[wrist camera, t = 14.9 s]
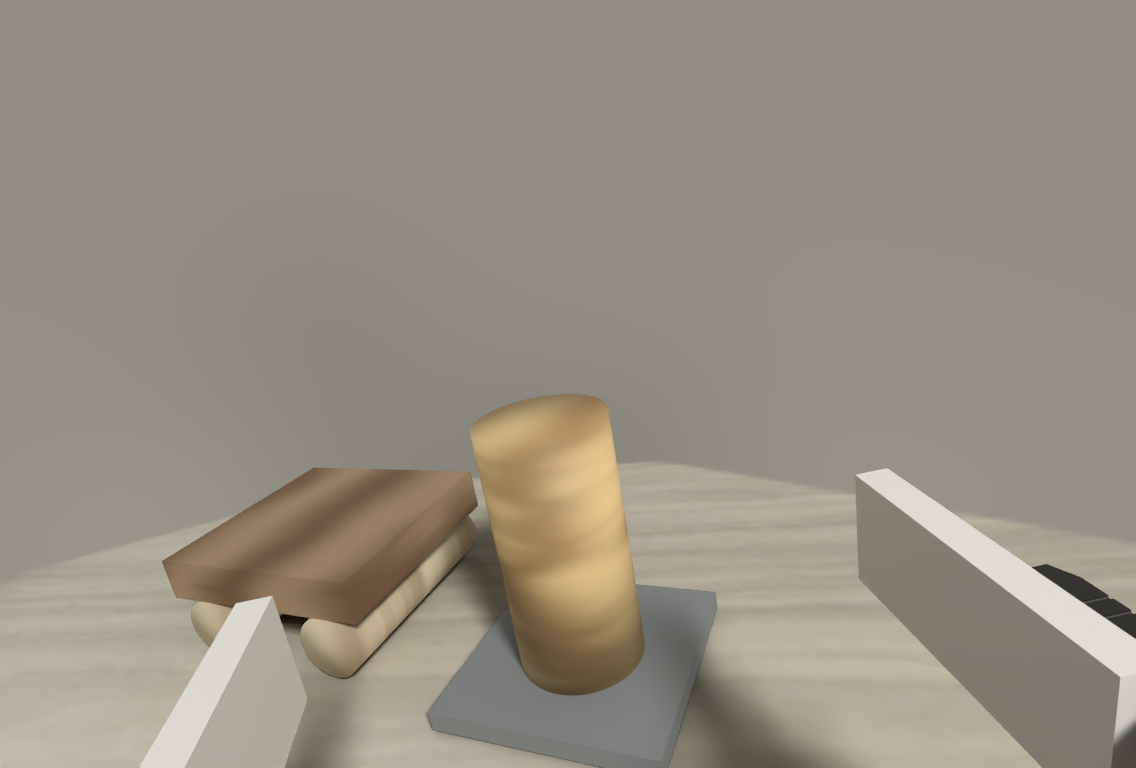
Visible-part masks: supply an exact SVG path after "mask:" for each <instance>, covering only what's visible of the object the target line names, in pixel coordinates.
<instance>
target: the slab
mask: <svg viewBox="0 0 1136 768" xmlns="http://www.w3.org/2000/svg"><path fill="white" fill-rule="evenodd" d="M477 506H478V503H477V499H476V495H475V490H474V486H473V481H472V477H471V473H470V472H455V471H418V470H415V471H414V470H381V469H379V470H378V469H344V468H343V469H342V468H313V469H311V470H309V471H308V472H306V473H304V474H303V475H301V476H300V477H298V478H296V479H295V480H293V481H291V482H290V483H288V484H286V485H285V486H283V487H282V488H280V489H279V490H277V491H275V492H273V493H272V494H270V495H269V496H267V497H265V498H264V499H262V500H261V501H259V502H257V503H256V504H254V505H252V506H251V507H249V508H247V509H246V510H244V511H243V512H241V513H239V514H238V515H236V516H235V517H233V518H231V519H230V520H228V521H226V522H225V523H223V524H222V525H220V526H218V527H217V528H215V529H213V530H212V531H210V532H209V533H207V534H205V535H204V536H202V537H200V538H199V539H197V540H196V541H194V542H192V543H191V544H189V545H187V546H186V547H184V548H183V549H181V550H179V551H178V552H176V553H174V554H173V555H171V556H170V557H168V558H166V559H165V560H163V561H162V563H163V565H164V568H165V571H166V573H167V576H168V578H169V581H170V583H171V586H172V588H173V591H174V594H175V596H176V598H182V599H188V600H195V601H199V602H197V603H196V604H195V605H194V606H193V607H192V611H191V619H192V623H193V626H194V628H195V630H196V632H197V633H198V635H199V636H200V638H201V639H202V640H203V642H204V643H205V644H206V645H207V646H208V647H210V646H211V645H212V643H213V641H214V640H215V638H216V636H217V635H218V633H219V631H220V629H221V628H222V626H223V624H224V623H225V621H226V619H227V618H228V616H229V614H230V613H231V611H232V609H233V607H234V606H235V604H236V603H240V602H245V601H250V600H254V599H259V598H264V597H269V596H273V599H274V602H275V605H276V608H277V611H278V614H279V617H280V616H281V615H282V614H287V615H294V616H300V617H307V618H310V619H308V620H307V621H306V622H305V623H304V624H303V626H302V628H301V633H300V637H301V642H302V645H303V648H304V650H305V652H306V654H307V655H308V657H309V658H310V659H311V661H312V662H313V663H314V664H315V665H316V666H317V667H318V668H319V669H321V670H322V671H323V672H325V673H327V674H329V675H331V676H333V677H337V678H347V677H350V676H351V675H352V674H353V673H354V672H355V671H356V670H357V669H358V668H359V667H360V666H361V665H362V664H363V663H364V662H365V661H366V660H367V658H368V657H369V656H370V655H371V654H372V653H373V652H374V651H375V650H376V649H377V648H378V647H379V646H380V645H381V644H382V642H383V641H384V640H385V639H386V638H387V637H388V636H389V635H390V634H391V633H392V632H393V631H394V630H395V629H396V628H397V627H398V625H399V624H400V623H401V622H402V621H403V620H404V619H405V618H406V617H407V616H408V615H409V614H410V613H411V612H412V611H413V609H414V608H415V607H416V606H417V605H418V604H419V603H420V602H421V601H422V600H423V599H424V598H425V597H426V596H427V595H428V593H429V592H430V591H431V590H432V589H433V588H434V587H435V586H436V585H437V584H438V583H439V582H440V581H441V580H442V579H443V577H444V576H445V575H446V574H447V573H448V572H449V571H450V570H451V569H452V568H453V567H454V566H455V565H456V564H457V563H458V562H459V560H460V559H461V558H462V557H463V556H464V555H465V554H466V553H467V552H468V551H469V550H470V549H471V548H472V547H473V545H474V544H475V541H476V529H475V526H474V523H473V522H472V520H471V518H470V517H469V516H468V515H469V514H470V513H471V512H472V511H473V510H474V509H475V508H476V507H477Z"/></svg>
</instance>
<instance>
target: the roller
mask: <svg viewBox="0 0 1136 768" xmlns="http://www.w3.org/2000/svg"><path fill="white" fill-rule="evenodd" d="M470 435H471V440H472V444H473V449H474V453H475V457H476V462H477V466H478V471H479V475H480V480H481V484H482V489H483V493H484V498H485V502H486V507H487V511H488V516H489V520H490V524H491V529H492V533H493V538H494V542H495V547H496V551H497V556H498V560H499V565H500V569H501V573H502V578H503V582H504V587H505V591H506V596H507V600H508V605H509V609H510V614H511V618H512V622H513V627H514V631H515V636H516V640H517V645H518V649H519V654H520V658H521V662H522V667H523V670H524V673H525V675H526V676H527V677H528V679H529V680H530V681H531V682H532V683H533V684H535V685H536V686H537V687H539V688H541V689H543V690H545V691H548V692H550V693H554V694H559V695H567V696H577V695H586V694H591V693H596V692H599V691H602V690H605V689H607V688H610V687H612V686H614V685H616V684H618V683H619V682H621V681H622V680H624V679H625V678H626V677H628V676H629V675H630V674H631V673H632V672H633V671H634V670H635V669H636V667H637V666H638V664H639V663H640V661H641V659H642V657H643V654H644V649H645V640H644V634H643V627H642V621H641V615H640V608H639V602H638V596H637V589H636V583H635V577H634V571H633V564H632V558H631V552H630V545H629V539H628V533H627V526H626V520H625V514H624V507H623V501H622V495H621V488H620V482H619V476H618V469H617V463H616V457H615V451H614V444H613V438H612V432H611V425H610V419H609V413H608V407H607V405H606V403H605V402H604V401H602V400H601V399H598V398H596V397H592V396H587V395H578V394H562V395H550V396H542V397H537V398H531V399H527V400H523V401H519V402H515V403H512V404H509V405H507V406H503V407H501V408H499V409H496V410H494V411H492V412H490V413H488V414H486V415H485V416H483V417H481V418H480V419H479V420H478V421H476V423H474V425H473V426H472V427H471V430H470Z"/></svg>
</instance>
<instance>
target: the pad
mask: <svg viewBox="0 0 1136 768" xmlns="http://www.w3.org/2000/svg"><path fill="white" fill-rule="evenodd" d="M636 589H637V596H638V602H639V608H640V615H641V621H642V627H643V634H644V640H645V649H644V654H643V657H642V659H641V661H640V663H639V664H638V666H637V667H636V669H635V670H634V671H633V672H632V673H631V674H630V675H629V676H628V677H626V678H625V679H624V680H622V681H621V682H619V683H618V684H616V685H614V686H612V687H610V688H607V689H605V690H602V691H599V692H596V693H591V694H586V695H577V696H567V695H559V694H554V693H550V692H548V691H545V690H543V689H541V688H539V687H537V686H536V685H535V684H533V683H532V682H531V681H530V680H529V679H528V677H527V676H526V675H525V673H524V670H523V667H522V662H521V658H520V654H519V649H518V645H517V640H516V636H515V631H514V627H513V622H512V618H511V614H510V609H509V605H508V606H507V608H506V609H505V610H504V612H503V613H502V614H501V616H500V617H499V618H498V620H497V621H496V622H495V624H494V625H493V626H492V628H491V629H490V630H489V632H488V633H487V634H486V636H485V637H484V638H483V640H482V641H481V642H480V644H479V645H478V646H477V648H476V649H475V650H474V652H473V653H472V654H471V656H470V657H469V658H468V660H467V661H466V662H465V664H464V665H463V666H462V668H461V669H460V670H459V672H458V673H457V674H456V676H455V677H454V678H453V680H452V681H451V682H450V684H449V685H448V686H447V688H446V689H445V690H444V692H443V693H442V694H441V696H440V697H439V698H438V700H437V701H436V702H435V704H434V705H433V706H432V708H431V709H430V710H429V712H428V715H429V719H430V723H431V726H432V730H436V731H440V732H445V733H449V734H454V735H458V736H463V737H467V738H472V739H476V740H481V741H485V742H490V743H494V744H499V745H503V746H508V747H512V748H517V749H521V750H526V751H530V752H535V753H539V754H544V755H548V756H553V757H558V758H562V759H567V760H571V761H576V762H580V763H585V764H589V765H594V766H598V767H603V768H668V767H669V763H670V760H671V757H672V754H673V750H674V747H675V744H676V741H677V737H678V734H679V731H680V728H681V724H682V721H683V718H684V715H685V711H686V708H687V705H688V702H689V698H690V695H691V692H692V689H693V685H694V682H695V679H696V676H697V672H698V669H699V666H700V663H701V659H702V656H703V653H704V650H705V646H706V643H707V640H708V637H709V633H710V630H711V627H712V624H713V620H714V617H715V614H716V611H717V600H716V592H709V591H699V590H689V589H678V588H668V587H658V586H648V585H637V584H636Z"/></svg>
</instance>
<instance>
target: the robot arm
mask: <svg viewBox="0 0 1136 768" xmlns="http://www.w3.org/2000/svg"><path fill="white" fill-rule="evenodd" d="M855 480H856V509H857V538H858V568H859V579H860V580H861V581H862V582H863V583H864V584H865V585H866V586H867V587H868V589H869V590H870V591H871V592H872V593H873V594H874V595H875V596H876V597H877V598H878V599H879V600H880V601H881V602H882V603H883V604H884V605H885V606H886V607H887V608H888V609H889V610H890V611H891V612H892V613H893V614H894V615H895V616H896V617H897V618H898V619H899V620H900V621H901V622H902V624H903V625H904V626H905V627H906V628H907V629H908V630H909V631H910V632H911V633H912V634H913V635H914V636H915V637H916V638H917V639H918V640H919V641H920V642H921V643H922V644H923V645H924V646H925V647H926V648H927V649H928V650H929V651H930V652H931V653H932V654H933V655H934V656H935V657H936V659H937V660H938V661H939V662H940V663H941V664H942V665H943V666H944V667H945V668H946V669H947V670H948V671H949V672H950V673H951V674H952V675H953V676H954V677H955V678H956V679H957V680H958V681H959V682H960V683H961V684H962V685H963V686H964V687H965V688H966V689H967V690H968V691H969V692H970V694H971V695H972V696H973V697H974V698H975V699H976V700H977V701H978V702H979V703H980V704H981V705H982V706H983V707H984V708H985V709H986V710H987V711H988V712H989V713H990V714H991V715H992V716H993V717H994V718H995V719H996V720H997V721H998V722H999V723H1000V724H1001V725H1002V726H1003V727H1004V729H1005V730H1006V731H1007V732H1008V733H1009V734H1010V735H1011V736H1012V737H1013V738H1014V739H1015V740H1016V741H1017V742H1018V743H1019V744H1020V745H1021V746H1022V747H1023V748H1024V749H1025V750H1026V751H1027V752H1028V753H1029V754H1030V755H1031V756H1032V757H1033V758H1034V759H1035V760H1036V761H1037V762H1038V764H1039V765H1040V766H1041V767H1042V768H1136V614H1132V612H1131V610H1130V609H1129V608H1127V607H1126V606H1124V605H1123V604H1121V603H1119V602H1118V601H1116V600H1115V599H1109V597H1108V595H1107V594H1106V593H1104V592H1102V591H1101V590H1099V589H1098V588H1096V587H1095V586H1093V585H1092V584H1090V583H1089V582H1087V581H1085V580H1084V579H1082V578H1081V577H1078V576H1076V575H1073V574H1071V573H1068V572H1065V571H1063V570H1060V569H1058V568H1055V567H1052V566H1050V565H1047V564H1045V565H1041V566H1036V567H1032V568H1031V567H1030V566H1028V565H1027V564H1026V563H1024V562H1023V561H1021V560H1020V559H1018V558H1017V557H1015V556H1014V555H1012V554H1011V553H1010V552H1008V551H1007V550H1005V549H1004V548H1002V547H1001V546H999V545H998V544H996V543H995V542H994V541H992V540H991V539H989V538H988V537H986V536H985V535H983V534H982V533H980V532H979V531H978V530H976V529H975V528H973V527H972V526H970V525H969V524H967V523H966V522H964V521H963V520H962V519H960V518H959V517H957V516H956V515H954V514H953V513H951V512H950V511H948V510H947V509H946V508H944V507H943V506H941V505H940V504H938V503H937V502H935V501H934V500H932V499H931V498H930V497H928V496H927V495H925V494H923V493H922V492H921V491H919V490H918V489H916V488H915V487H913V486H912V485H910V484H909V483H908V482H906V481H905V480H903V479H902V478H900V477H899V476H897V475H896V474H895V473H893V472H892V471H890V470H889V469H882V470H877V471H872V472H867V473H863V474H857V475H855ZM307 700H308V699H307V697H306V694H305V691H304V688H303V685H302V682H301V679H300V676H299V673H298V670H297V667H296V664H295V661H294V658H293V655H292V652H291V649H290V646H289V643H288V640H287V637H286V634H285V632H284V629H283V626H282V623H281V620H280V617H279V614H278V611H277V608H276V605H275V602H274V599H273V596H269V597H264V598H259V599H254V600H250V601H245V602H240V603H236V604H235V606H234V607H233V609H232V611H231V613H230V614H229V616H228V618H227V619H226V621H225V623H224V624H223V626H222V628H221V629H220V631H219V633H218V635H217V636H216V638H215V640H214V641H213V643H212V645H211V646H210V648H209V650H208V652H207V653H206V655H205V657H204V658H203V660H202V662H201V663H200V665H199V667H198V668H197V670H196V672H195V674H194V675H193V677H192V679H191V680H190V682H189V684H188V685H187V687H186V689H185V690H184V692H183V694H182V696H181V697H180V699H179V701H178V702H177V704H176V706H175V707H174V709H173V711H172V713H171V714H170V716H169V718H168V719H167V721H166V723H165V724H164V726H163V728H162V729H161V731H160V733H159V735H158V736H157V738H156V740H155V741H154V743H153V745H152V746H151V748H150V750H149V751H148V753H147V755H146V757H145V758H144V760H143V762H142V763H141V765H140V767H139V768H285V765H286V762H287V759H288V756H289V753H290V750H291V747H292V744H293V741H294V738H295V735H296V732H297V729H298V726H299V723H300V720H301V717H302V714H303V711H304V708H305V706H306V703H307Z"/></svg>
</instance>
